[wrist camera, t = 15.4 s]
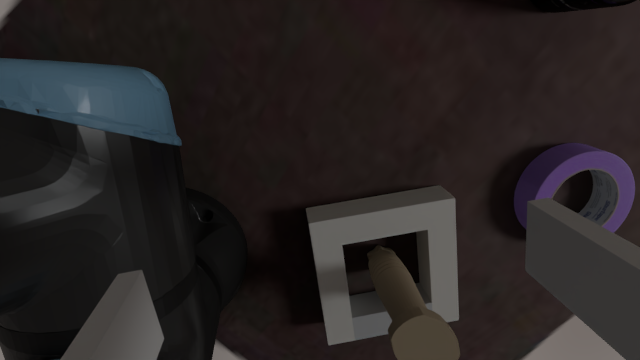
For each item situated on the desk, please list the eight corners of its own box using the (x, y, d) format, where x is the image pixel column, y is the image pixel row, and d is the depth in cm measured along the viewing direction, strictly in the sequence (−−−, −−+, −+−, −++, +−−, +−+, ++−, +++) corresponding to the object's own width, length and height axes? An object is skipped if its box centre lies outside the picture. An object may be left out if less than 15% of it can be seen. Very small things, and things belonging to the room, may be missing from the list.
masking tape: (600, 231, 50) (626, 245, 46) (509, 242, 49) (528, 258, 45) (615, 137, 46) (644, 145, 42) (516, 148, 45) (538, 157, 41)
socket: (324, 322, 49) (328, 345, 45) (305, 208, 44) (308, 223, 40) (444, 299, 50) (458, 320, 46) (439, 185, 45) (454, 197, 41)
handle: (379, 286, 48) (424, 386, 34) (346, 250, 46) (379, 341, 32) (411, 261, 48) (471, 352, 33) (379, 224, 46) (428, 304, 31)
